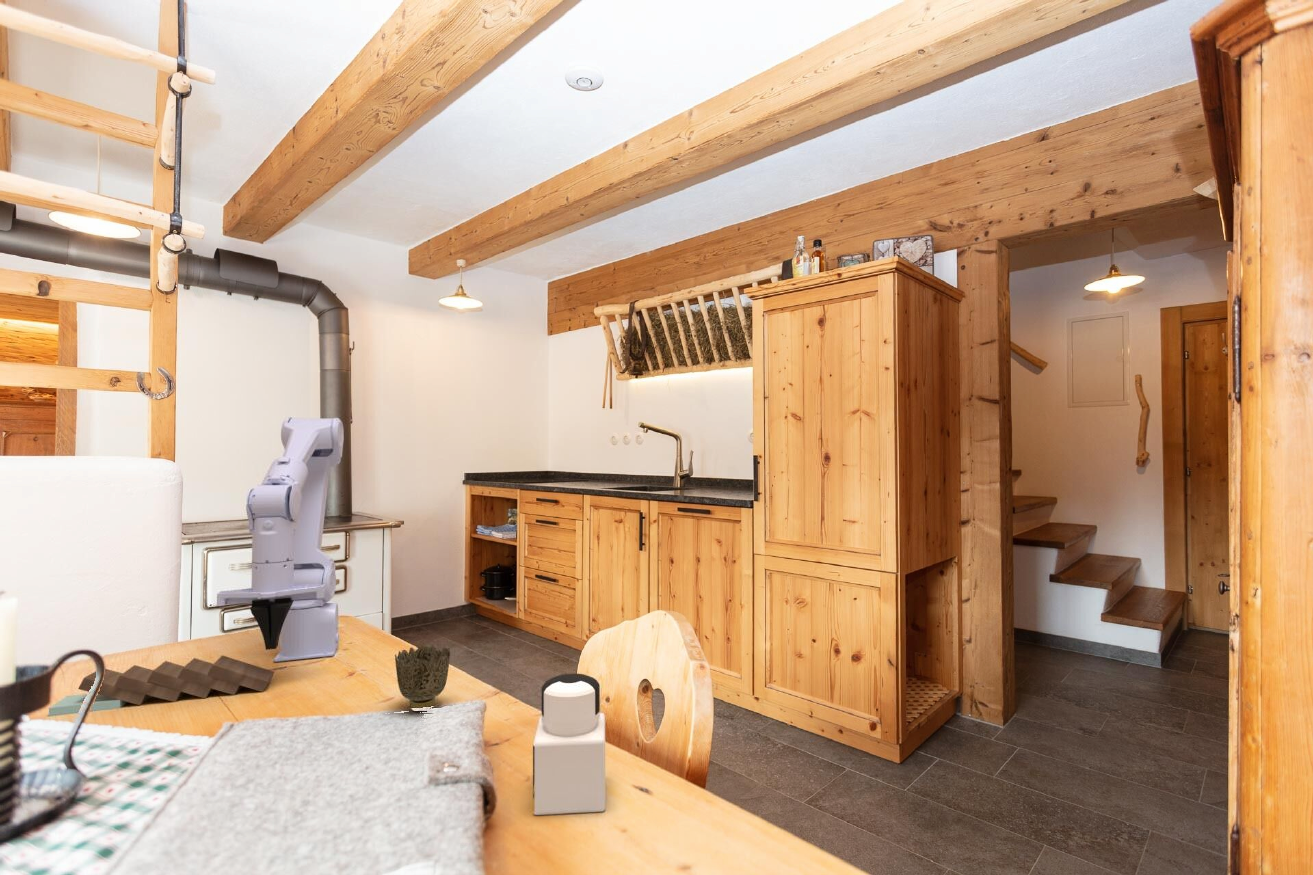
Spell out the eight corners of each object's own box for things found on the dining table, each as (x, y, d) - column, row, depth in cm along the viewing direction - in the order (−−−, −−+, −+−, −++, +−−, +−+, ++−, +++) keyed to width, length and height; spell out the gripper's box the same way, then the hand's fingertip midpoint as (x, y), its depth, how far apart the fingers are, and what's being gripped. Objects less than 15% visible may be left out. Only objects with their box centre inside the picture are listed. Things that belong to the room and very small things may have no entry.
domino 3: (192, 680, 98) (134, 664, 96) (180, 691, 94) (120, 675, 91) (186, 690, 98) (129, 675, 96) (175, 701, 94) (114, 686, 91)
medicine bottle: (539, 780, 70) (539, 669, 70) (605, 777, 70) (604, 666, 71) (532, 816, 62) (532, 692, 63) (605, 812, 63) (605, 689, 64)
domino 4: (220, 677, 100) (165, 660, 97) (211, 687, 95) (152, 670, 93) (215, 687, 100) (160, 670, 97) (205, 698, 95) (146, 681, 92)
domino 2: (160, 683, 97) (101, 667, 95) (145, 694, 92) (83, 677, 90) (155, 693, 97) (96, 678, 95) (140, 705, 92) (77, 688, 90)
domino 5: (248, 674, 101) (194, 657, 99) (239, 684, 96) (183, 667, 94) (242, 684, 101) (188, 667, 98) (234, 694, 96) (177, 678, 94)
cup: (382, 714, 88) (382, 656, 88) (419, 696, 95) (419, 642, 95) (426, 722, 85) (426, 661, 86) (461, 702, 92) (461, 646, 93)
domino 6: (274, 671, 102) (222, 655, 100) (267, 681, 98) (212, 664, 95) (269, 681, 102) (216, 665, 100) (262, 691, 97) (207, 675, 95)
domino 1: (134, 688, 96) (67, 695, 93) (119, 700, 91) (48, 707, 88) (134, 699, 96) (67, 706, 93) (119, 711, 91) (48, 719, 88)
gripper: (211, 567, 94) (209, 660, 94) (321, 561, 100) (320, 649, 99) (224, 560, 101) (222, 647, 100) (326, 555, 106) (325, 637, 106)
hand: (271, 647), depth 100 cm, fingers closed
